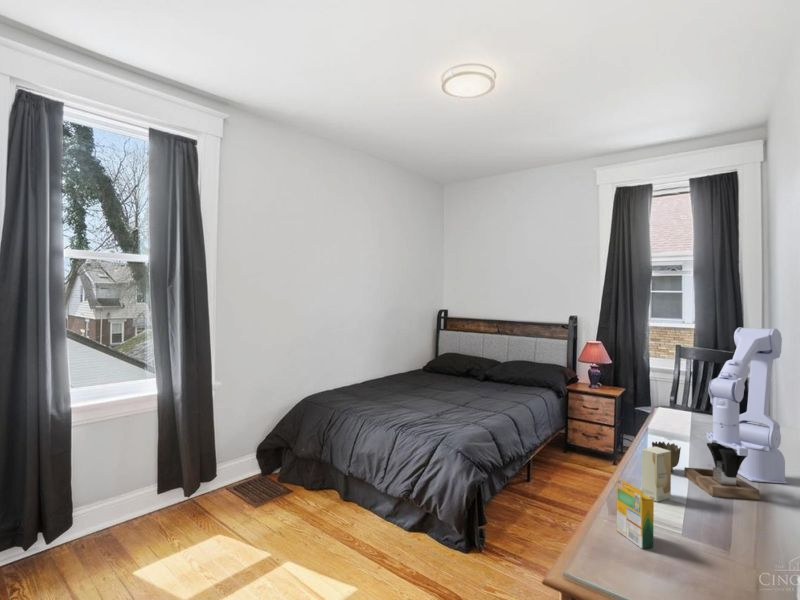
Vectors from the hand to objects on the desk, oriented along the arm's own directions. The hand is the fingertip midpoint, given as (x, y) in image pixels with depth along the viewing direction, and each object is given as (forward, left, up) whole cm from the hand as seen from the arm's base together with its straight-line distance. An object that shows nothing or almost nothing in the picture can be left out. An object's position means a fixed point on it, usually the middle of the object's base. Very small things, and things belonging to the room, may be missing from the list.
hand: (726, 474), depth 113 cm
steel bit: (0, 0, -4) cm, 4 cm away
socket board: (0, -3, -5) cm, 6 cm away
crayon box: (+34, +30, -5) cm, 46 cm away
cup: (+9, -13, -5) cm, 17 cm away
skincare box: (+20, +7, -5) cm, 22 cm away
